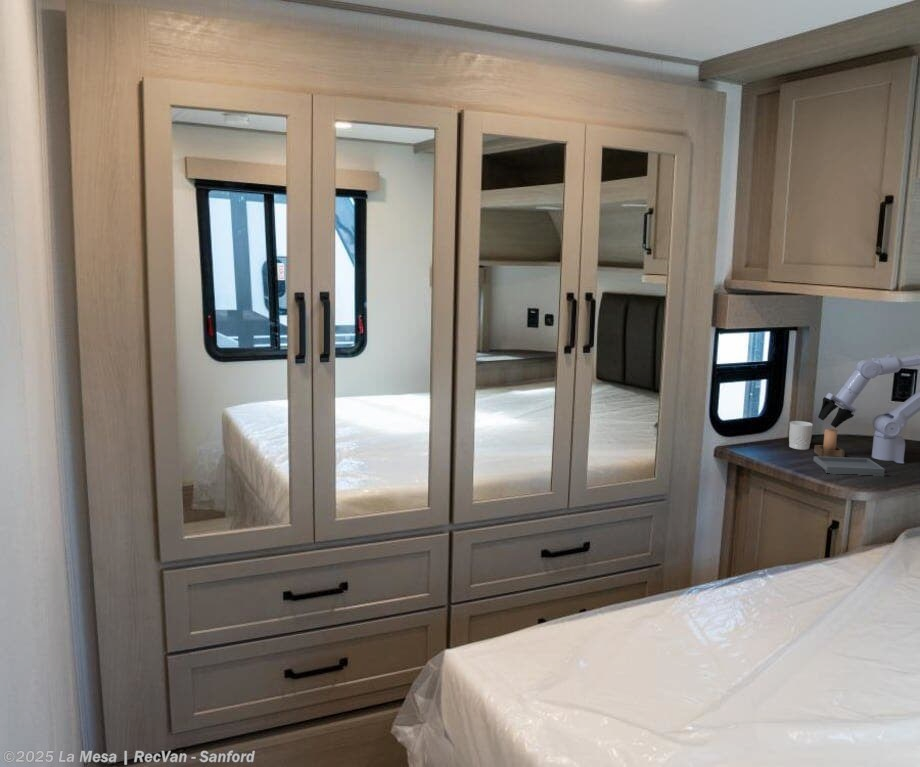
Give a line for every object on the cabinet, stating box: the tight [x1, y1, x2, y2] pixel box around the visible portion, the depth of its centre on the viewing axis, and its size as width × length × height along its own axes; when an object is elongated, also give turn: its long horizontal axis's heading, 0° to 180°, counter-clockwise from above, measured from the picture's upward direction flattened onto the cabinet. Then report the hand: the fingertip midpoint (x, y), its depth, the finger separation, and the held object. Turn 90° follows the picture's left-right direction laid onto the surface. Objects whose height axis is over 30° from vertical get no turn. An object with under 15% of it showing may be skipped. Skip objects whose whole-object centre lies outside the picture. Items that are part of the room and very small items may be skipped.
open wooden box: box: [813, 444, 846, 457], centre depth 272 cm, size 8×8×4 cm
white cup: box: [788, 420, 814, 451], centre depth 282 cm, size 8×8×10 cm
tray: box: [813, 455, 886, 477], centre depth 257 cm, size 18×13×2 cm
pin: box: [822, 428, 838, 450], centre depth 271 cm, size 4×4×9 cm
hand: (826, 422), depth 270 cm, fingers open, 7 cm apart
